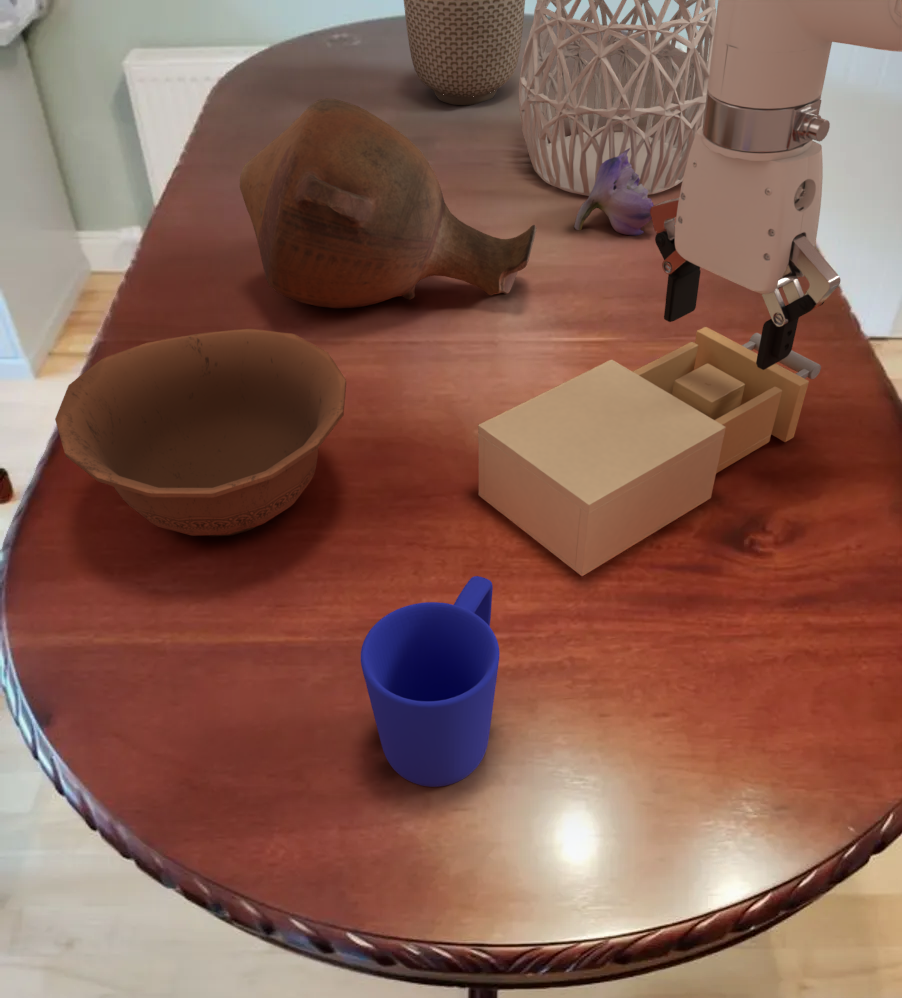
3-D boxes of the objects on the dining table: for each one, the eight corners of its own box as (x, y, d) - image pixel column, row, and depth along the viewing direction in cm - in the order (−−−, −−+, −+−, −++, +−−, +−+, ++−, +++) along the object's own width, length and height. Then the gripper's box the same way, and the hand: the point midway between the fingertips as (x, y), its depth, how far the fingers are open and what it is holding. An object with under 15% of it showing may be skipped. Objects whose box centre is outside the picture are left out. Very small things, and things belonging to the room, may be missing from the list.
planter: (384, 101, 148) (375, -22, 137) (454, 67, 157) (452, -51, 146) (478, 126, 140) (477, -3, 129) (545, 89, 150) (551, -34, 138)
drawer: (732, 361, 96) (744, 306, 92) (831, 415, 89) (848, 358, 85) (590, 436, 88) (596, 380, 84) (687, 501, 82) (698, 443, 77)
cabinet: (603, 432, 90) (611, 358, 84) (710, 502, 83) (726, 426, 77) (478, 499, 84) (477, 424, 78) (581, 580, 77) (588, 504, 71)
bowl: (154, 418, 93) (124, 312, 85) (384, 438, 90) (375, 330, 82) (49, 583, 78) (0, 472, 70) (321, 614, 75) (302, 502, 67)
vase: (521, 130, 139) (528, -134, 118) (698, 132, 137) (737, -136, 115) (512, 207, 122) (518, -84, 101) (713, 210, 120) (762, -86, 99)
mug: (537, 684, 70) (543, 582, 63) (466, 821, 62) (464, 724, 55) (431, 649, 72) (426, 547, 65) (351, 776, 65) (334, 677, 58)
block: (700, 403, 89) (707, 362, 86) (736, 424, 87) (745, 383, 84) (667, 421, 88) (673, 380, 84) (703, 443, 85) (711, 402, 82)
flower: (573, 194, 109) (646, 137, 109) (549, 196, 117) (617, 142, 117) (616, 266, 113) (687, 211, 112) (590, 263, 121) (656, 212, 120)
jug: (221, 325, 104) (500, 388, 104) (201, 159, 88) (534, 234, 87) (276, 204, 115) (530, 261, 115) (268, 35, 98) (565, 102, 98)
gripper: (902, 137, 65) (842, 363, 78) (701, 74, 75) (676, 284, 87) (829, 171, 62) (779, 401, 75) (630, 101, 72) (615, 314, 84)
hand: (724, 338), depth 81 cm, fingers open, 9 cm apart
